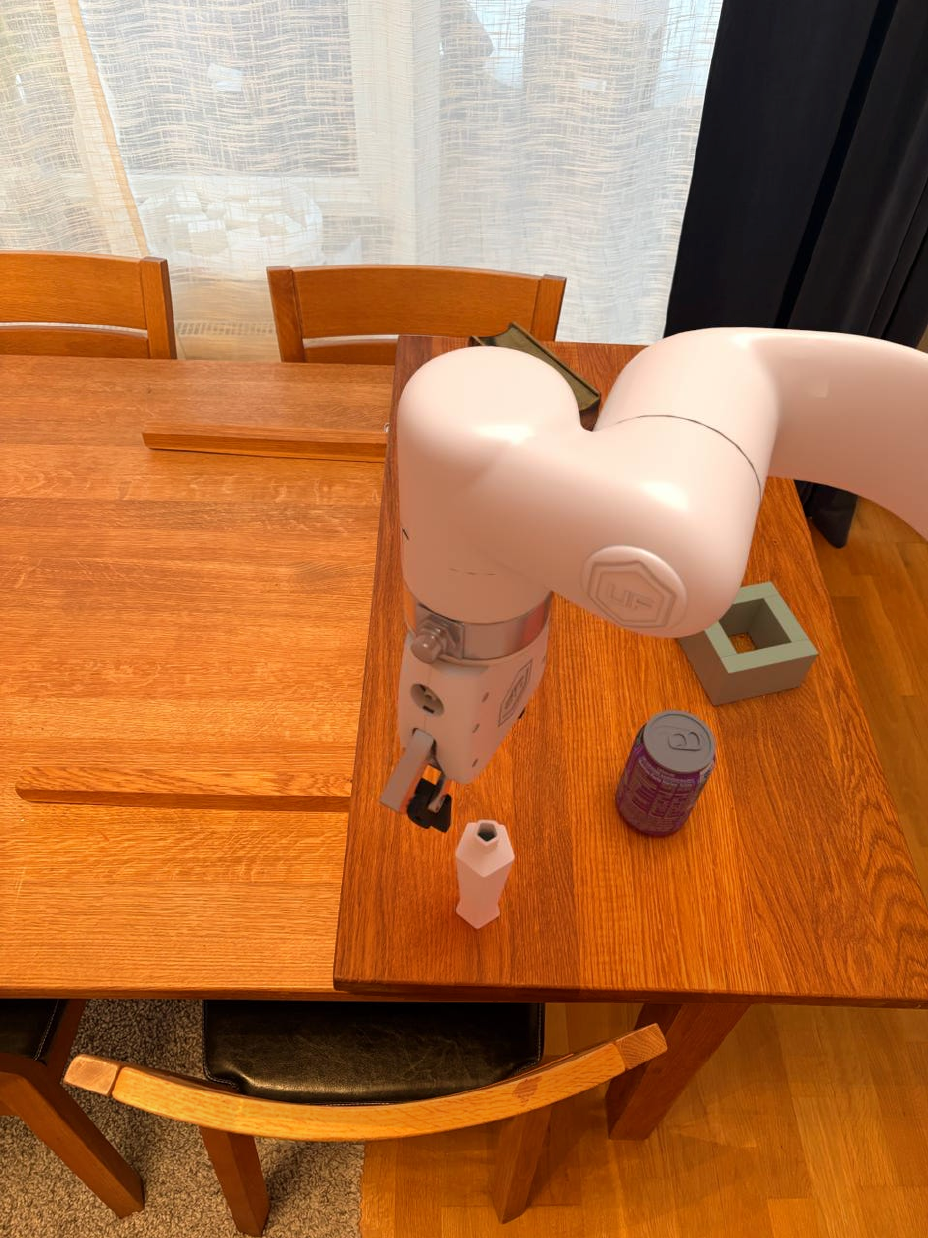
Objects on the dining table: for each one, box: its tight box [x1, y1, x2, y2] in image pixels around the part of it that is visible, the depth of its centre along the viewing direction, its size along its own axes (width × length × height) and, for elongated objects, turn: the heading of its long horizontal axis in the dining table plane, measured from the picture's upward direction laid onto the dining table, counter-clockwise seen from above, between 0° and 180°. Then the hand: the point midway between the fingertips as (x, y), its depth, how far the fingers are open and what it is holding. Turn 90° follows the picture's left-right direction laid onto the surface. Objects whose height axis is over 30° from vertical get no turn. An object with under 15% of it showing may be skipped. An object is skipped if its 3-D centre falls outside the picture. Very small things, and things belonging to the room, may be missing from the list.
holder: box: [676, 581, 820, 707], centre depth 92 cm, size 10×10×6 cm
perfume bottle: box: [454, 819, 515, 930], centre depth 70 cm, size 5×4×15 cm
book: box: [467, 320, 603, 432], centre depth 95 cm, size 16×6×25 cm, turn 33°
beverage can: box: [615, 709, 717, 836], centre depth 78 cm, size 7×7×12 cm
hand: (466, 760), depth 56 cm, fingers open, 9 cm apart
